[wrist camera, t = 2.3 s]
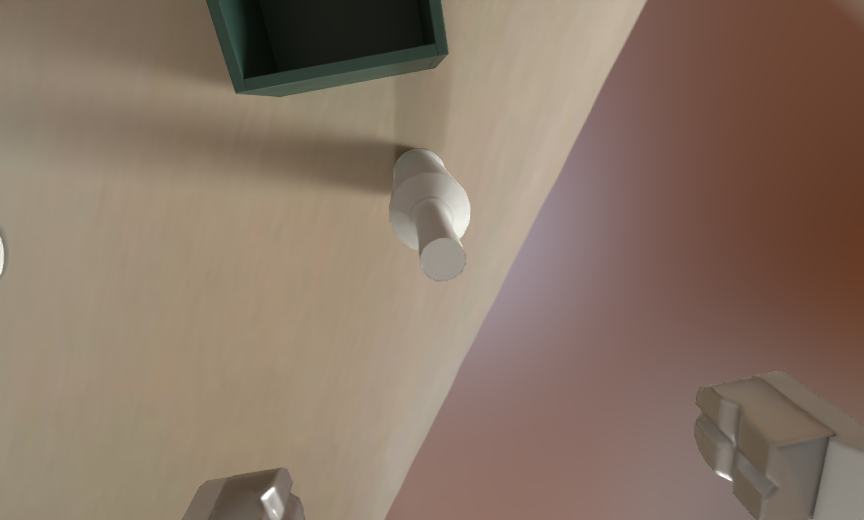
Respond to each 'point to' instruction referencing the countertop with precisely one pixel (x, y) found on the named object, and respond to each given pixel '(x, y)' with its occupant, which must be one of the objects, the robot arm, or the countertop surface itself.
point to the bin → (325, 41)
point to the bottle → (429, 213)
